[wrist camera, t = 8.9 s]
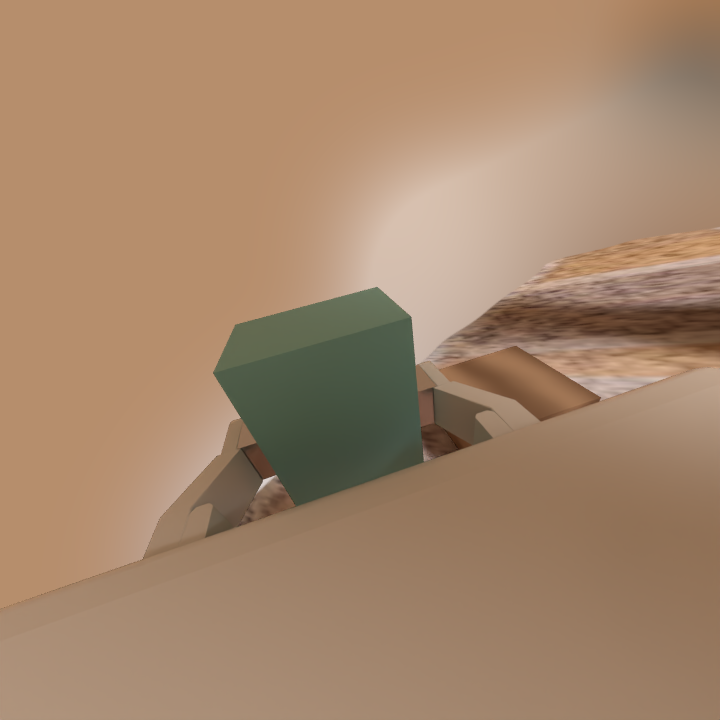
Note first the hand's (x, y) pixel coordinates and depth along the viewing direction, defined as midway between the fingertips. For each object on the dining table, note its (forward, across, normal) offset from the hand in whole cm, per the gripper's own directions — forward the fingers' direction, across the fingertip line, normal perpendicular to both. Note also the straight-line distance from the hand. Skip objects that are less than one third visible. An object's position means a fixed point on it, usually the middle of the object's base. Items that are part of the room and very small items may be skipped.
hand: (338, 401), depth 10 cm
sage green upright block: (-1, 0, +6) cm, 6 cm away
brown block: (+9, -16, +16) cm, 24 cm away
